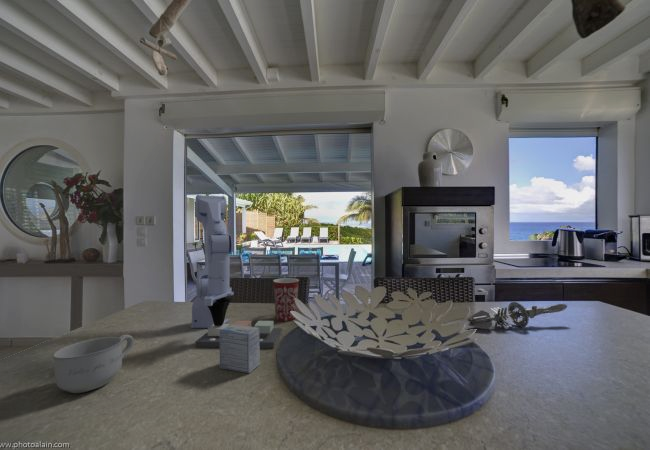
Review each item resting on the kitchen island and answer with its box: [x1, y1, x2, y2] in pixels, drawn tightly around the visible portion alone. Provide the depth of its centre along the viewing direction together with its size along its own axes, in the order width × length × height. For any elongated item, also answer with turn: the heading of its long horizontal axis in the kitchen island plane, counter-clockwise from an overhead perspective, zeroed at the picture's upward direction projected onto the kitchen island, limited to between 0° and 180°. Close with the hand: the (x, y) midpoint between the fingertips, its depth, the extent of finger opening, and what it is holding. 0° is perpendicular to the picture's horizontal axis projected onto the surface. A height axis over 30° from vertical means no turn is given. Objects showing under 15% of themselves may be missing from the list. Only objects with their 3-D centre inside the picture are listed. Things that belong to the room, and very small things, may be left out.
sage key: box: [253, 320, 275, 333], centre depth 81 cm, size 4×4×2 cm
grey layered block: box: [219, 324, 261, 374], centre depth 65 cm, size 8×4×9 cm, turn 71°
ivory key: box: [207, 323, 230, 336], centre depth 81 cm, size 4×4×2 cm
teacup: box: [52, 334, 135, 394], centre depth 59 cm, size 14×11×8 cm
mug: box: [272, 277, 300, 322], centre depth 103 cm, size 13×9×14 cm
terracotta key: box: [231, 320, 252, 327], centre depth 81 cm, size 4×4×2 cm
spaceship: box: [467, 301, 568, 330], centre depth 91 cm, size 8×35×8 cm
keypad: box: [194, 327, 283, 349], centre depth 81 cm, size 21×11×2 cm, turn 88°
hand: (218, 324), depth 81 cm, fingers closed
